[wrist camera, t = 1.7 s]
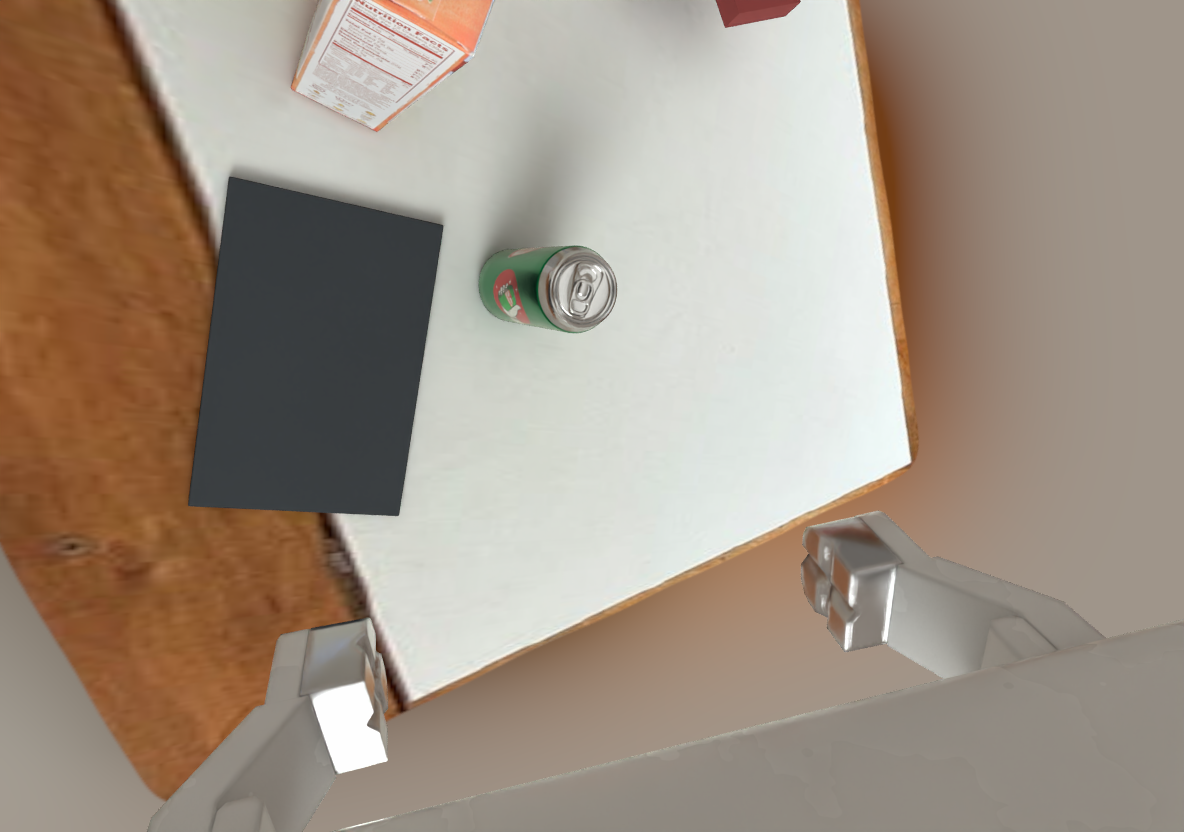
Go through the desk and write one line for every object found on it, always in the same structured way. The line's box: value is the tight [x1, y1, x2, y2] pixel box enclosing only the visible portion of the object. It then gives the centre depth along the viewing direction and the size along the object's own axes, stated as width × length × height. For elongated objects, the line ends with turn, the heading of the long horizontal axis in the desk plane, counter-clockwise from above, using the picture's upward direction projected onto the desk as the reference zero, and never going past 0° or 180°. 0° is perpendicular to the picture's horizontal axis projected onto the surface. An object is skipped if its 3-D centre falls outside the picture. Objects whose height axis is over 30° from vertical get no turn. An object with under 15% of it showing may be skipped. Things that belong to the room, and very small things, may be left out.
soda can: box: [479, 246, 617, 333], centre depth 50 cm, size 5×5×12 cm
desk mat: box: [188, 177, 443, 516], centre depth 50 cm, size 20×13×1 cm, turn 168°
